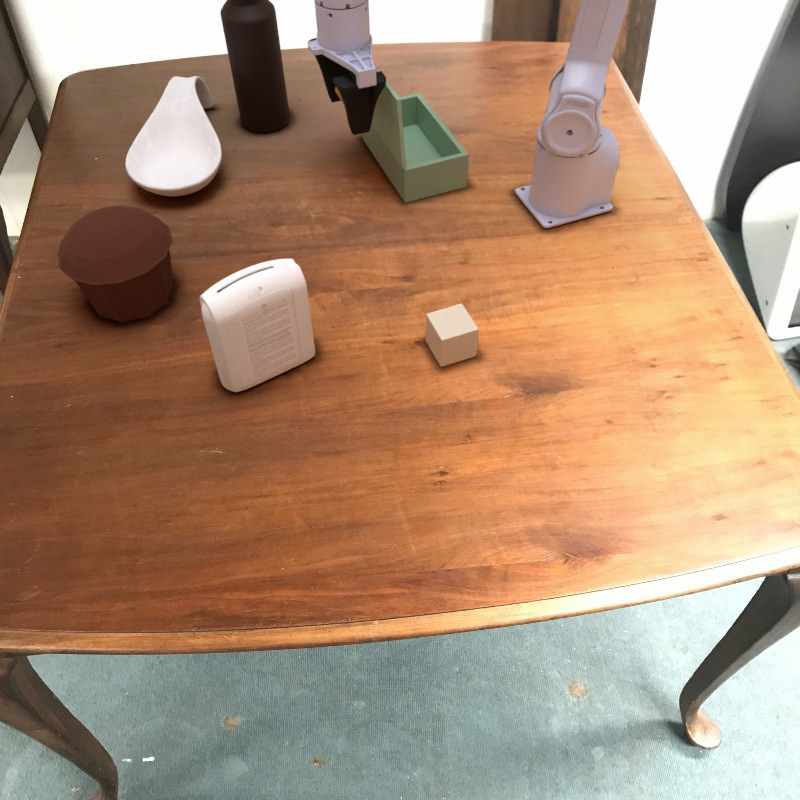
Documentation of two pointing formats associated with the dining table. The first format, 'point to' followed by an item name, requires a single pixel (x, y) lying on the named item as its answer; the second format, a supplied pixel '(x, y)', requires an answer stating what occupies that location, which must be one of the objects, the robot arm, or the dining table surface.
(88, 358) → the dining table surface
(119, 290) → the muffin
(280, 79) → the bottle
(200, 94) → the spoon rest
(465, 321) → the block
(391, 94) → the compartment door
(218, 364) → the photo printer
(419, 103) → the compartment
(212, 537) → the dining table surface
